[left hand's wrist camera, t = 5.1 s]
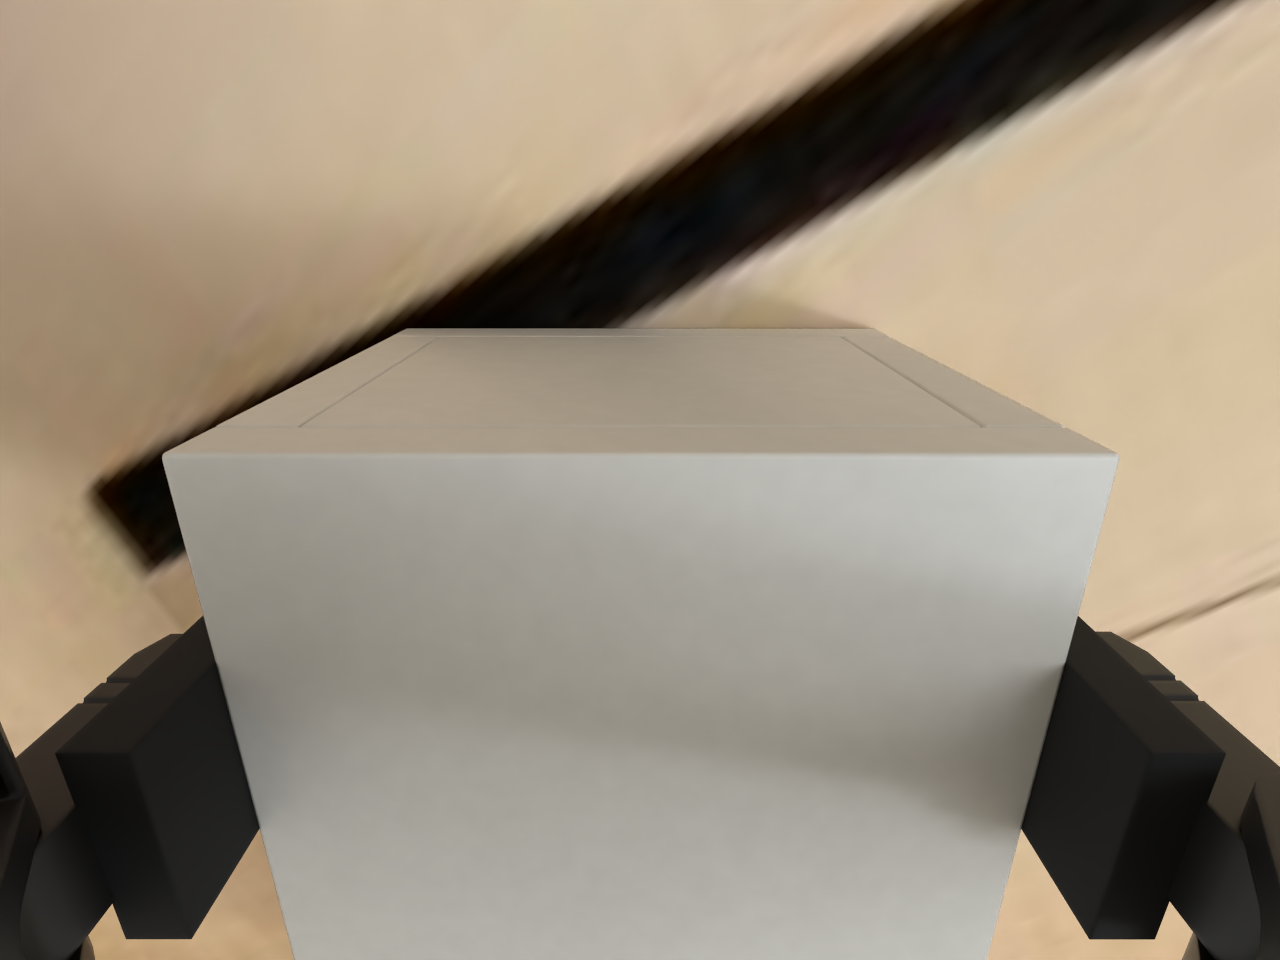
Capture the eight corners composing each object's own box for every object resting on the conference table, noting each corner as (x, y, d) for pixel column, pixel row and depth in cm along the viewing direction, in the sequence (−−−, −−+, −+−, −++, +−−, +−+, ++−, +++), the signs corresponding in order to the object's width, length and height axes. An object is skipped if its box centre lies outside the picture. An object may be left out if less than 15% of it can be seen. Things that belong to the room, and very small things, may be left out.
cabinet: (799, 956, 23) (883, 1354, 15) (481, 956, 23) (396, 1354, 15) (875, 328, 15) (1124, 452, 7) (405, 327, 15) (156, 453, 7)
